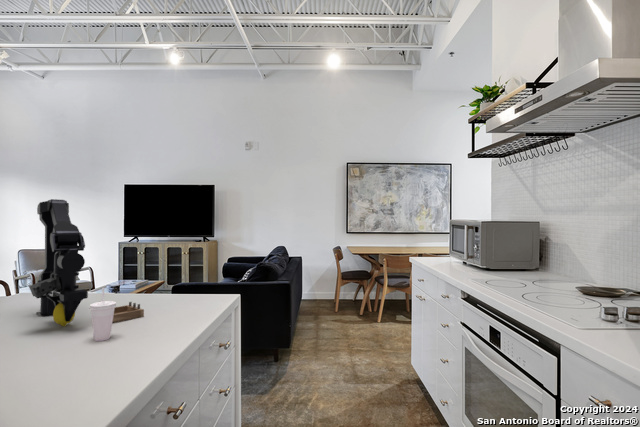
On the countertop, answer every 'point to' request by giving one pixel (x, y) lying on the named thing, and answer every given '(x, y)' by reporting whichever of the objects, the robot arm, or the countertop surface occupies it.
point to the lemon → (60, 315)
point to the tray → (127, 312)
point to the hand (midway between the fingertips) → (64, 319)
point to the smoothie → (102, 318)
